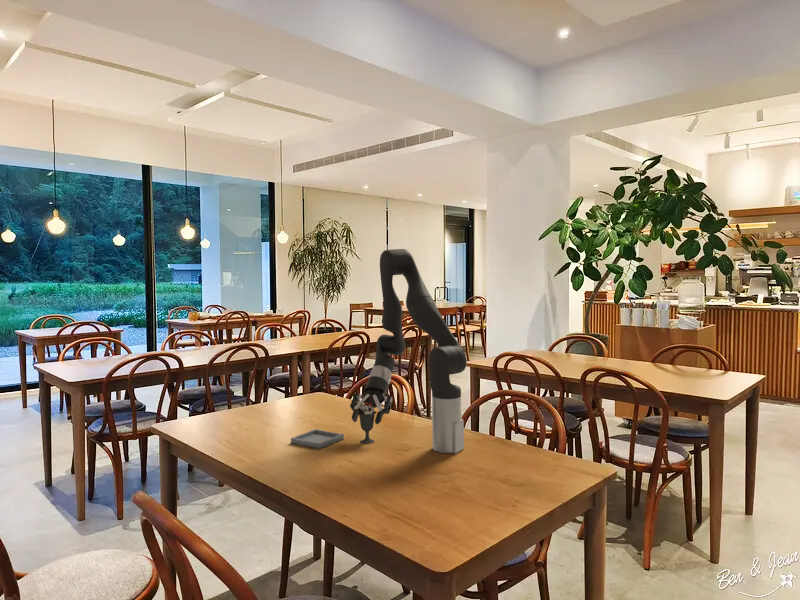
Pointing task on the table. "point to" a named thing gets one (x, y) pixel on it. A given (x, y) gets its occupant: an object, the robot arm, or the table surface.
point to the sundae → (366, 420)
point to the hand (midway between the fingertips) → (365, 421)
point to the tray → (317, 439)
